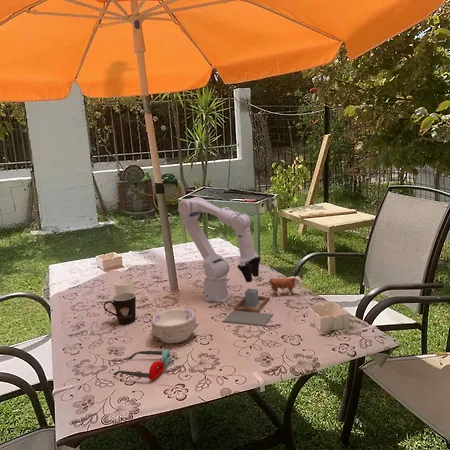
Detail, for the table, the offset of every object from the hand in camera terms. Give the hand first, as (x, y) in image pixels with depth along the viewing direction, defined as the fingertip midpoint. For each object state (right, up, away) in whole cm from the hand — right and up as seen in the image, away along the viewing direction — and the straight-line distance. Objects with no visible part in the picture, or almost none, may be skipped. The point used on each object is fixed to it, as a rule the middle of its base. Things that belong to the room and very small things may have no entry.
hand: (252, 279), depth 184 cm
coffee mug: (-50, -16, -4) cm, 52 cm away
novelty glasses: (-36, -23, -42) cm, 59 cm away
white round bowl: (-28, -18, -22) cm, 40 cm away
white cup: (-52, -13, +13) cm, 55 cm away
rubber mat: (-2, -13, -11) cm, 17 cm away
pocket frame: (0, -11, +2) cm, 11 cm away
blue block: (0, -11, +2) cm, 11 cm away
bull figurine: (+15, -8, +11) cm, 20 cm away
